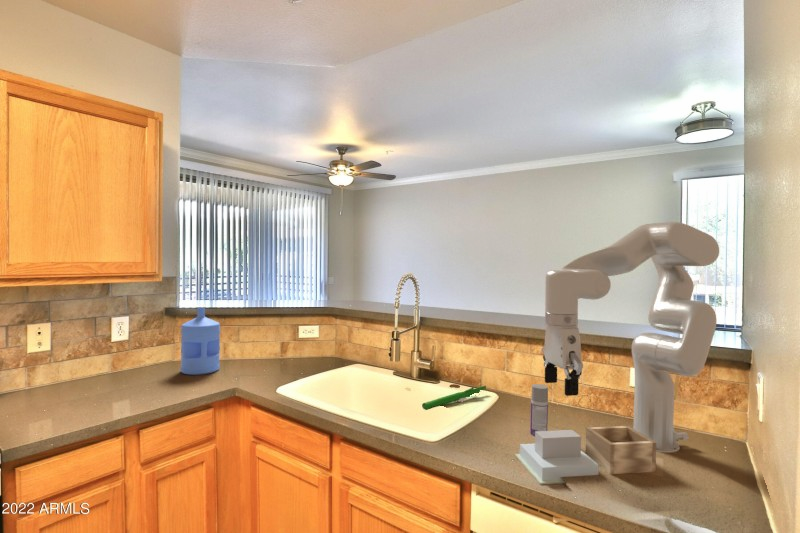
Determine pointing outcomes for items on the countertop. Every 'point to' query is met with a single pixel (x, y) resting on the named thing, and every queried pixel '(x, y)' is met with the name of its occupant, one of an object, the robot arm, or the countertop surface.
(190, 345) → the water jug
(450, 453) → the countertop surface
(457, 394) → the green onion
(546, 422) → the container
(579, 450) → the lid
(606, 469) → the box
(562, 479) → the mat
